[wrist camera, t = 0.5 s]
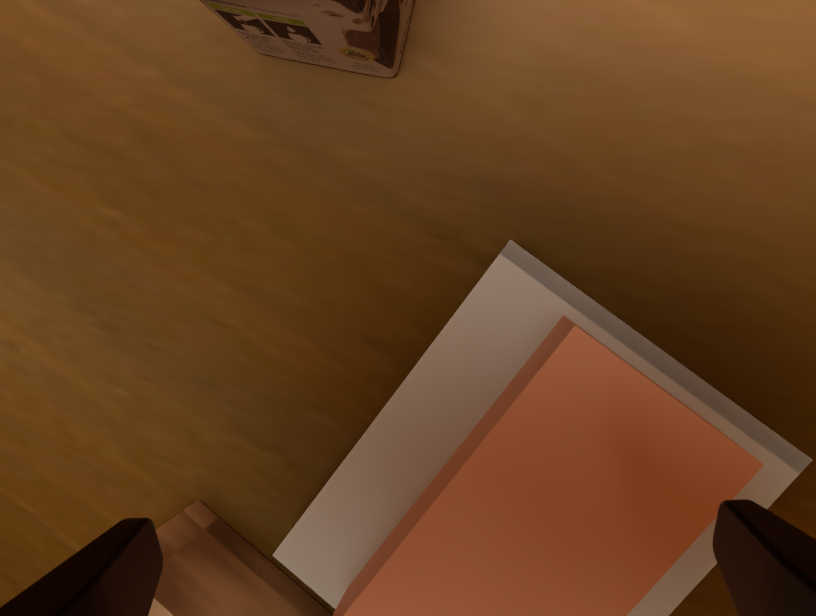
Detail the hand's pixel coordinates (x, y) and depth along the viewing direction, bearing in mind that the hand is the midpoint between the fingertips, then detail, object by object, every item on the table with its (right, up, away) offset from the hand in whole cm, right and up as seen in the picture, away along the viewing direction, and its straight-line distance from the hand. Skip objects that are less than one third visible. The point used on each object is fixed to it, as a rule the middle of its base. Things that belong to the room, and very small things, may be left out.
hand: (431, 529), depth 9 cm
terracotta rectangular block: (+3, -4, +11) cm, 12 cm away
